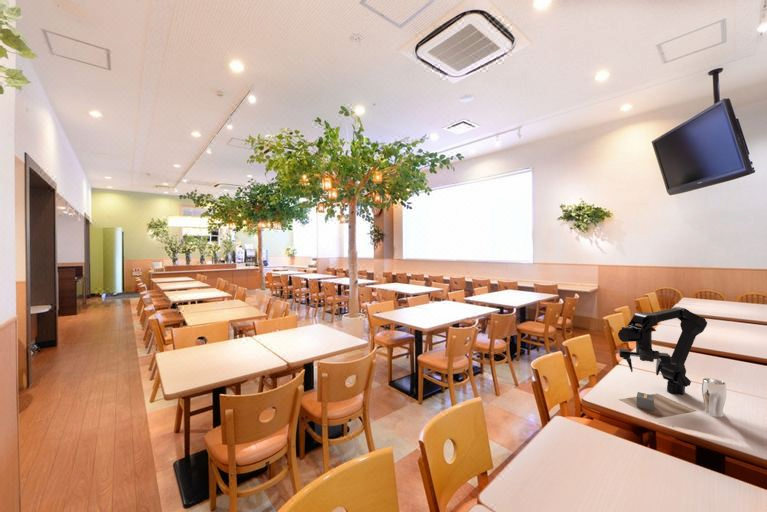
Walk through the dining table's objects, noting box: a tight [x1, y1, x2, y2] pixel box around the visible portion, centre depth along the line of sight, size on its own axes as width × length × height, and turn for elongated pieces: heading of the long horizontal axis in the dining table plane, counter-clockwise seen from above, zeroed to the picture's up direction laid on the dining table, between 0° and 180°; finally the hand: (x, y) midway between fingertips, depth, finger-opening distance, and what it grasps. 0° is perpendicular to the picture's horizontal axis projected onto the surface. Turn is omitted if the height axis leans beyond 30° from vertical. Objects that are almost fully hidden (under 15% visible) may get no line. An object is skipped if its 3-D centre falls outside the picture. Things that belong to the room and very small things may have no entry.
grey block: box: [636, 391, 654, 411], centre depth 137 cm, size 6×6×5 cm
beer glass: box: [701, 377, 727, 418], centre depth 130 cm, size 7×7×15 cm
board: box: [618, 393, 697, 419], centre depth 138 cm, size 22×16×2 cm
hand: (644, 373), depth 148 cm, fingers open, 9 cm apart
